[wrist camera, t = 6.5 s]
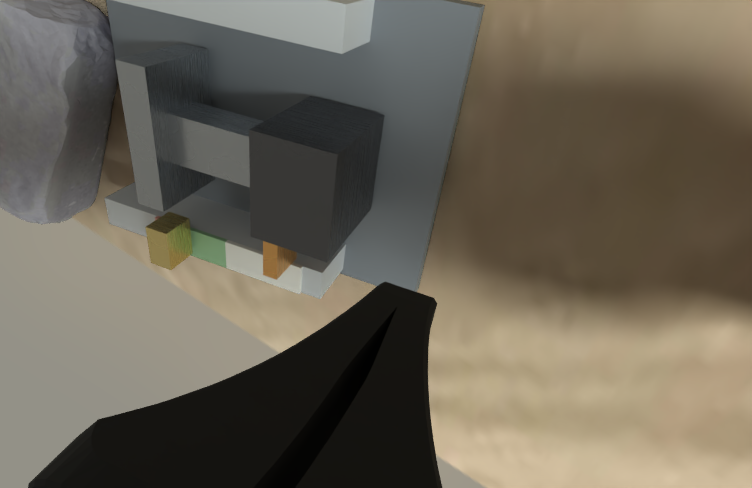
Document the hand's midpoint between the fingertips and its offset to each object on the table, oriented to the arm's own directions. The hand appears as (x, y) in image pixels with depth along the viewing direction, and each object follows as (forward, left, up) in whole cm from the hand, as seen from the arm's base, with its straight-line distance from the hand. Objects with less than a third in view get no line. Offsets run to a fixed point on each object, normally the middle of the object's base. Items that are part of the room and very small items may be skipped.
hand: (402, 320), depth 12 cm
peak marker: (+11, +4, -5) cm, 13 cm away
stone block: (+23, +1, -10) cm, 25 cm away
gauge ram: (+8, +1, -8) cm, 11 cm away
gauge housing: (+9, 0, -9) cm, 12 cm away
